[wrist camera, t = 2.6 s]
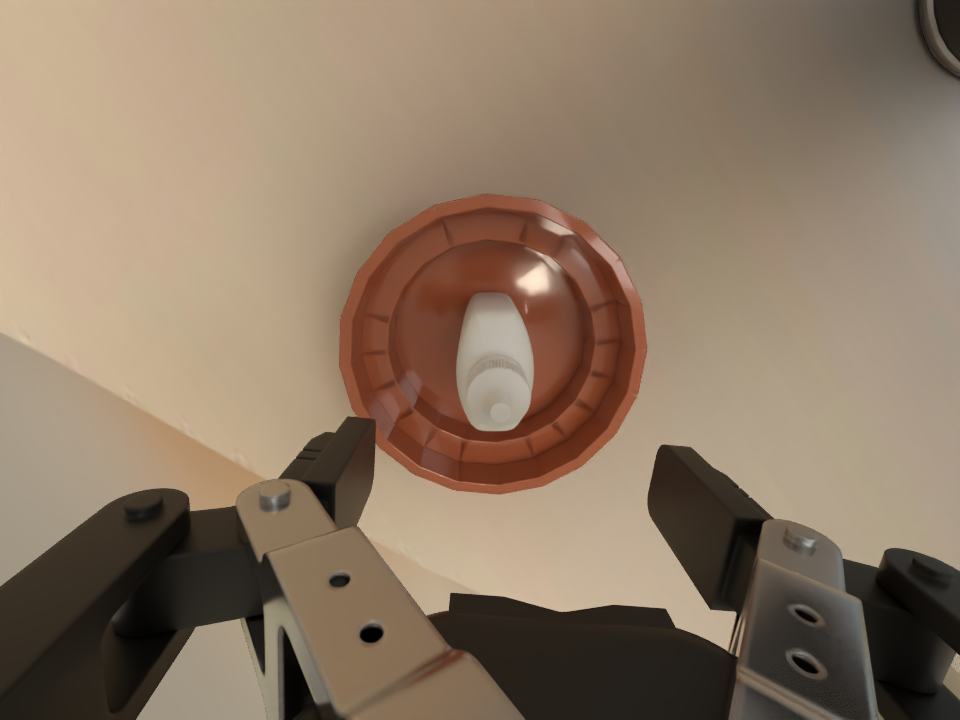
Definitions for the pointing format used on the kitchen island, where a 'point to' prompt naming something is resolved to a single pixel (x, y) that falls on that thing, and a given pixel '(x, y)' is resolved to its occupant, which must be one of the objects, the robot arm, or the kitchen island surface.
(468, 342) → the eye dropper bottle
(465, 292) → the bowl
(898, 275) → the kitchen island surface
